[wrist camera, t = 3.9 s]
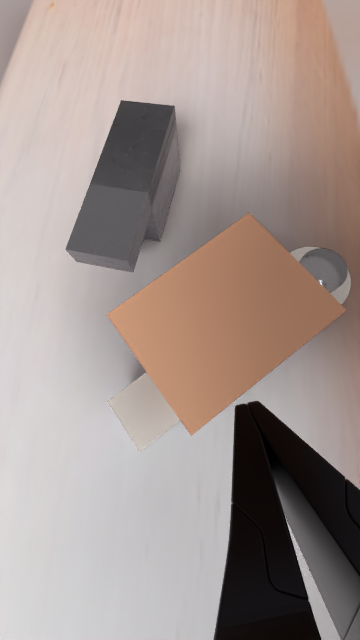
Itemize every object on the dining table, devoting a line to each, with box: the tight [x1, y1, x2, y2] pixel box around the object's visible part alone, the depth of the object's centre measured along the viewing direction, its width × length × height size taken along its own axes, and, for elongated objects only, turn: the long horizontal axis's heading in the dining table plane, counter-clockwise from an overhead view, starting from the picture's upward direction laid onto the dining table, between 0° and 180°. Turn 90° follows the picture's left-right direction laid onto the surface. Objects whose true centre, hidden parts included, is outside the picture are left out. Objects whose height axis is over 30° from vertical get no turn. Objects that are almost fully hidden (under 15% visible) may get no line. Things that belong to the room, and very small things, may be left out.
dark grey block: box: [66, 100, 180, 272], centre depth 18 cm, size 4×11×5 cm, turn 167°
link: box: [107, 213, 351, 453], centre depth 11 cm, size 15×4×11 cm, turn 127°
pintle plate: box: [299, 248, 348, 293], centre depth 16 cm, size 5×5×4 cm
